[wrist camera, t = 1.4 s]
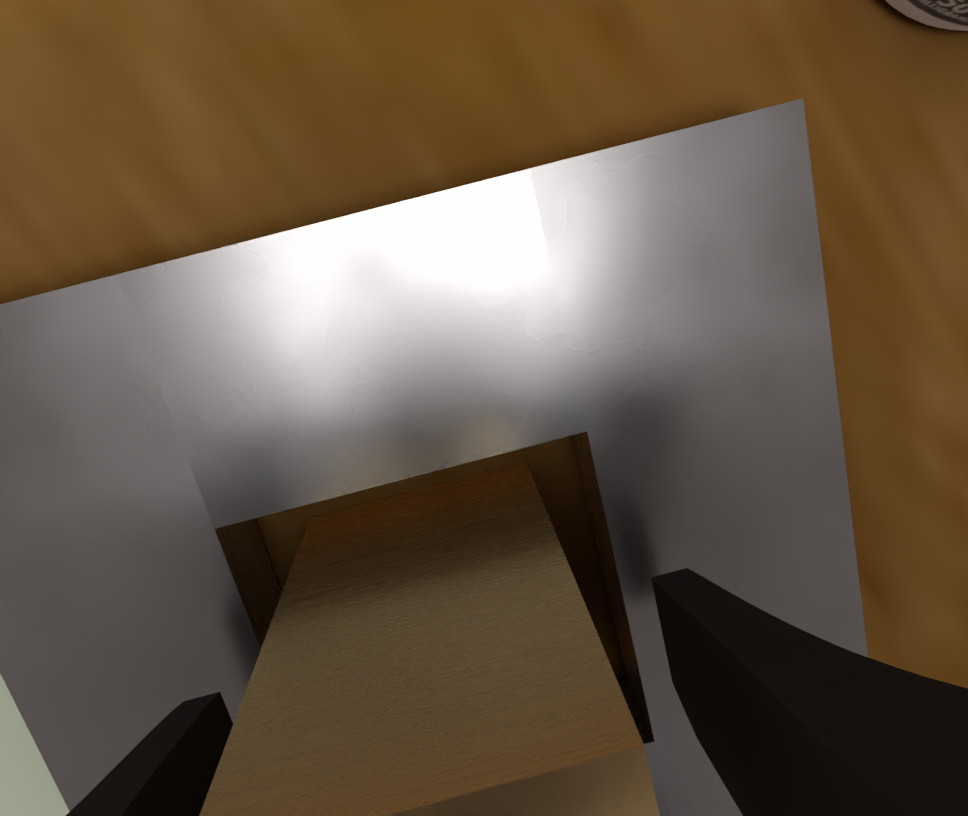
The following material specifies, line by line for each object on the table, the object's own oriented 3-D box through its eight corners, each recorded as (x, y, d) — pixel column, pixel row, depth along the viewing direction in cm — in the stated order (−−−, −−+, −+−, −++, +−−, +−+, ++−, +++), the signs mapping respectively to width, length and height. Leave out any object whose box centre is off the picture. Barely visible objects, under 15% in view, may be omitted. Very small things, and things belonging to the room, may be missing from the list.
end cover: (571, 648, 16) (741, 1142, 7) (372, 702, 16) (315, 1260, 7) (525, 461, 14) (666, 797, 6) (309, 517, 14) (155, 933, 6)
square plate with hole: (838, 782, 17) (891, 855, 15) (214, 951, 17) (187, 1046, 15) (746, 115, 13) (802, 98, 11) (-76, 326, 13) (-164, 346, 11)
